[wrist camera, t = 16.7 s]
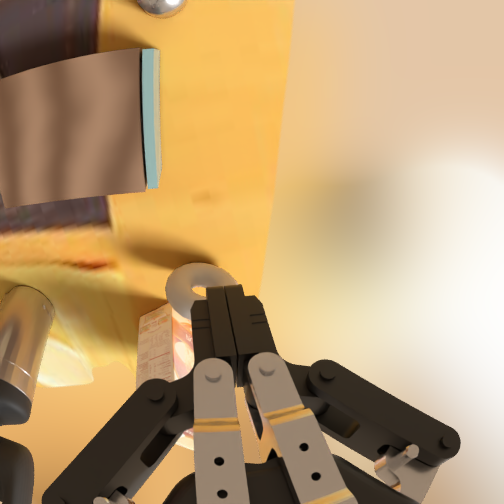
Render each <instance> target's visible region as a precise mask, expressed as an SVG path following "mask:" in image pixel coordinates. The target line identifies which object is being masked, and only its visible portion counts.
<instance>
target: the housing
mask: <svg viewBox="0 0 504 504" xmlns="http://www.w3.org/2000/svg"><path fill="white" fill-rule="evenodd" d="M142 49H143V48H131V49H123V50H116V51H109V52H103V53H97V54H92V55H86V56H81V57H77V58H72V59H68V60H63V61H59V62H55V63H51V64H48V65H44V66H40V67H37V68H33V69H30V70H27V71H24V72H20V73H17V74H14V75H11V76H9V77H6V78H3V79H0V192H1V195H2V199H3V202H4V206H5V208H11V207H17V206H23V205H30V204H37V203H44V202H51V201H59V200H67V199H75V198H84V197H93V196H103V195H113V194H124V193H136V192H145V190H146V186H147V172H146V164H144V157H143V142H142V123H141V92H140V63H141V62H142Z"/></svg>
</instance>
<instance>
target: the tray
mask: <svg viewBox="0 0 504 504" xmlns="http://www.w3.org/2000/svg"><path fill="white" fill-rule="evenodd" d="M140 92H141V123H142V142H143V157H144V164H146V172H147V184H148V189H153V188H158V185H159V180H160V175H161V170H162V159H161V136H160V50H157V49H154V48H152V49H142V62H141V63H140Z"/></svg>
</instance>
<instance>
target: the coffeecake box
mask: <svg viewBox="0 0 504 504" xmlns="http://www.w3.org/2000/svg"><path fill="white" fill-rule="evenodd" d="M193 366H194V350H193V338H192V326H191V321H190V320H188V319H186V318H184V317H182V316H181V315H180V314H178V313H177V312H176V311H175V310H174V309H173V308H172V306H171V305H170V303H167V304H165V305H163V306H161V307H160V308H158V309H156V310H154V311H152V312H149V313H147V314H145V315H143V316H141V317H140V322H139V336H138V352H137V374H136V390H137V389H138V388H139V387H140V385H141V384H142V383H144V382H145V381H147V380H150V379H154V378H159V379H164V380H166V381H168V382H172V381H175V380H178V379H180V378H182V377H184V376H186V375H187V374H188V373H189V372H190V371H191V370H192V368H193ZM175 444H177V445H180V446H182V447H185V448H188V449H191V450H193V451H194V441H193V428H191V429H188V430H186V431H184V432H183V434H182V435H181V437H180V438H179V439H178V441H177V442H176V443H175Z"/></svg>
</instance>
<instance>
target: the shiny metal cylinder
mask: <svg viewBox="0 0 504 504" xmlns="http://www.w3.org/2000/svg"><path fill="white" fill-rule="evenodd" d="M137 2H138V3H139V5H140V6H141V7H142V8H143V10H144V11H145V12H146V13H147V14H149V15H150V16H152V17H155V18H169V17H172V16H174V15H176V14H178V13H179V12H180V11H181V10H182V9H183V8H184V7H185V5H186V3H187V0H137Z"/></svg>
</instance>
